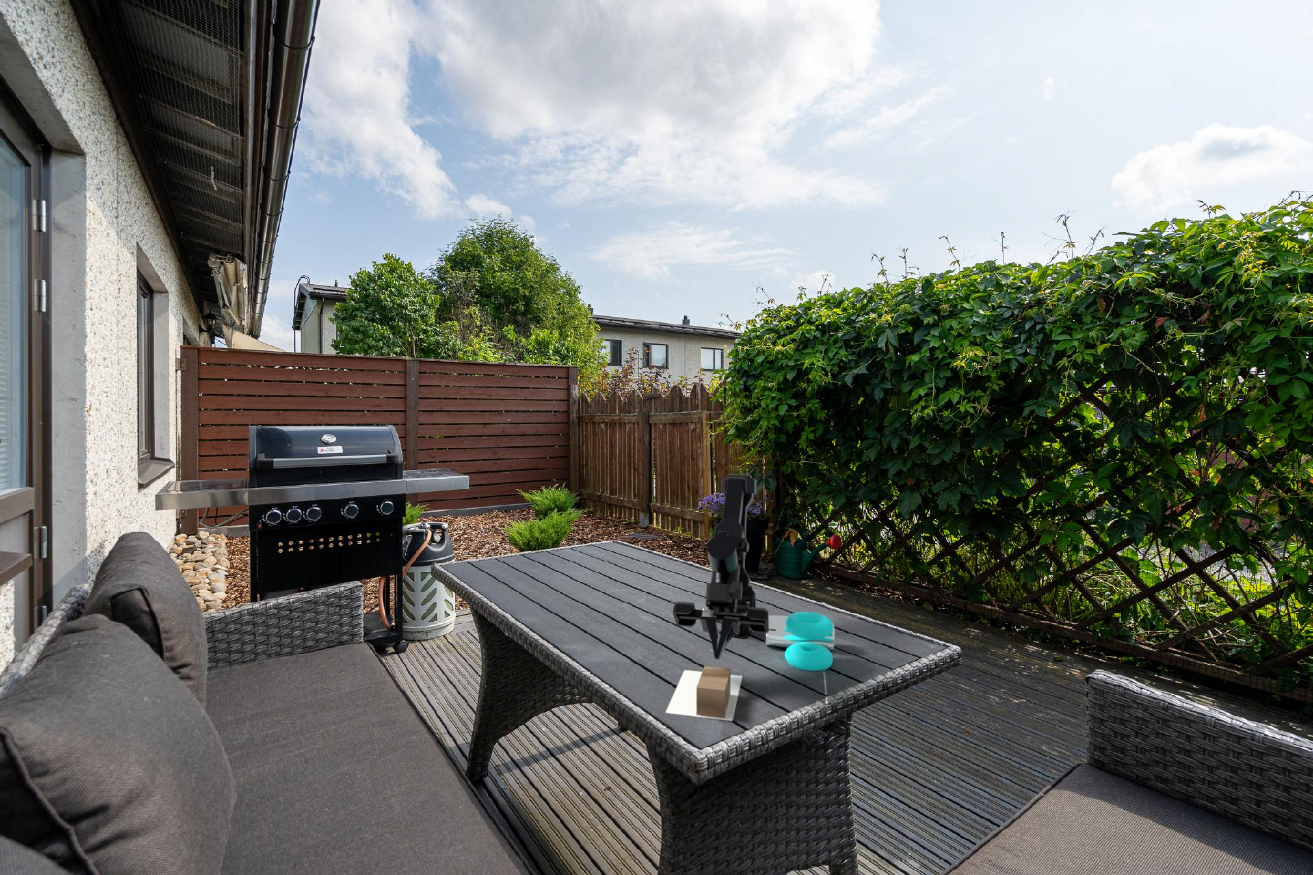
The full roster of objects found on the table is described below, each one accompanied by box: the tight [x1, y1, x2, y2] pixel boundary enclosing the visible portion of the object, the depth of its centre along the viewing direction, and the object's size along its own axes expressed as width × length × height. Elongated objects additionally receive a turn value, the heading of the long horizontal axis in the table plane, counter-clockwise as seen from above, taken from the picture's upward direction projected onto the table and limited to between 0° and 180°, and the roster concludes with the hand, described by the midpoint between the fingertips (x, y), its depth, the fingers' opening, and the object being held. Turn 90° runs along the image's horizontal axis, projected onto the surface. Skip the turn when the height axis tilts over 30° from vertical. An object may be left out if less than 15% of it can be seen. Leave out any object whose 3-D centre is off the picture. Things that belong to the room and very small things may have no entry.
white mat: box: [665, 669, 743, 722], centre depth 116 cm, size 18×12×1 cm, turn 166°
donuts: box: [784, 611, 834, 672], centre depth 130 cm, size 10×10×10 cm
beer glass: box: [765, 615, 836, 651], centre depth 139 cm, size 7×7×15 cm
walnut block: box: [696, 665, 732, 718], centre depth 111 cm, size 5×5×9 cm
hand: (716, 658), depth 115 cm, fingers closed
